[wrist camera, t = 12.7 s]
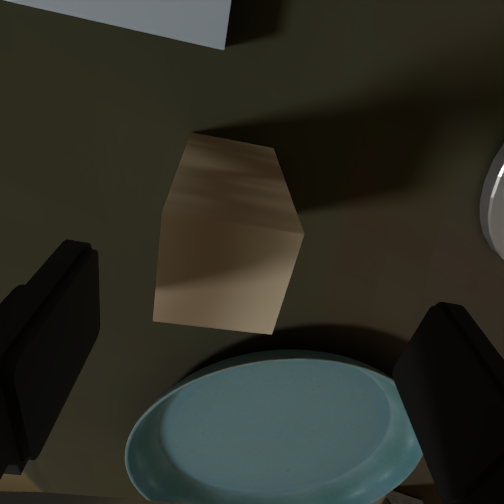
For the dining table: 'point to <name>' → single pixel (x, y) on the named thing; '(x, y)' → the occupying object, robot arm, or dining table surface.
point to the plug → (226, 238)
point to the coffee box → (397, 499)
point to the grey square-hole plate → (152, 16)
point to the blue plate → (274, 433)
